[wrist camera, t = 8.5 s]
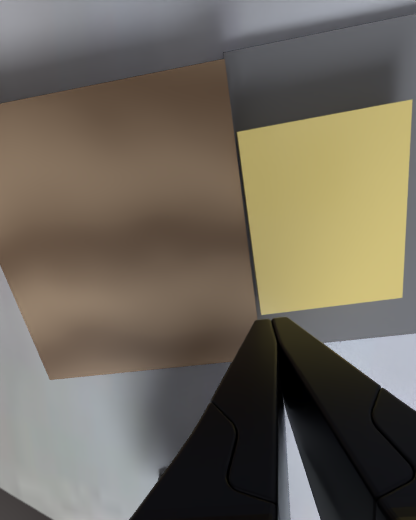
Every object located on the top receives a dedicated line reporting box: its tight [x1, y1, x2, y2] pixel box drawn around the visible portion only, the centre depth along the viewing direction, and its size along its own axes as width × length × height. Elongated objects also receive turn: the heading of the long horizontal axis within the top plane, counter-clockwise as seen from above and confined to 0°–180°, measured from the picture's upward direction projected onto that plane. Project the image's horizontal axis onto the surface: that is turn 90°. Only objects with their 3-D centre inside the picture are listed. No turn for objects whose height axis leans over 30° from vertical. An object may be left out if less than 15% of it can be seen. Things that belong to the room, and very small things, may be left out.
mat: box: [223, 14, 416, 343], centre depth 17 cm, size 16×15×1 cm
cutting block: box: [0, 59, 257, 380], centre depth 17 cm, size 15×13×2 cm
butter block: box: [236, 100, 412, 315], centre depth 16 cm, size 9×7×2 cm
